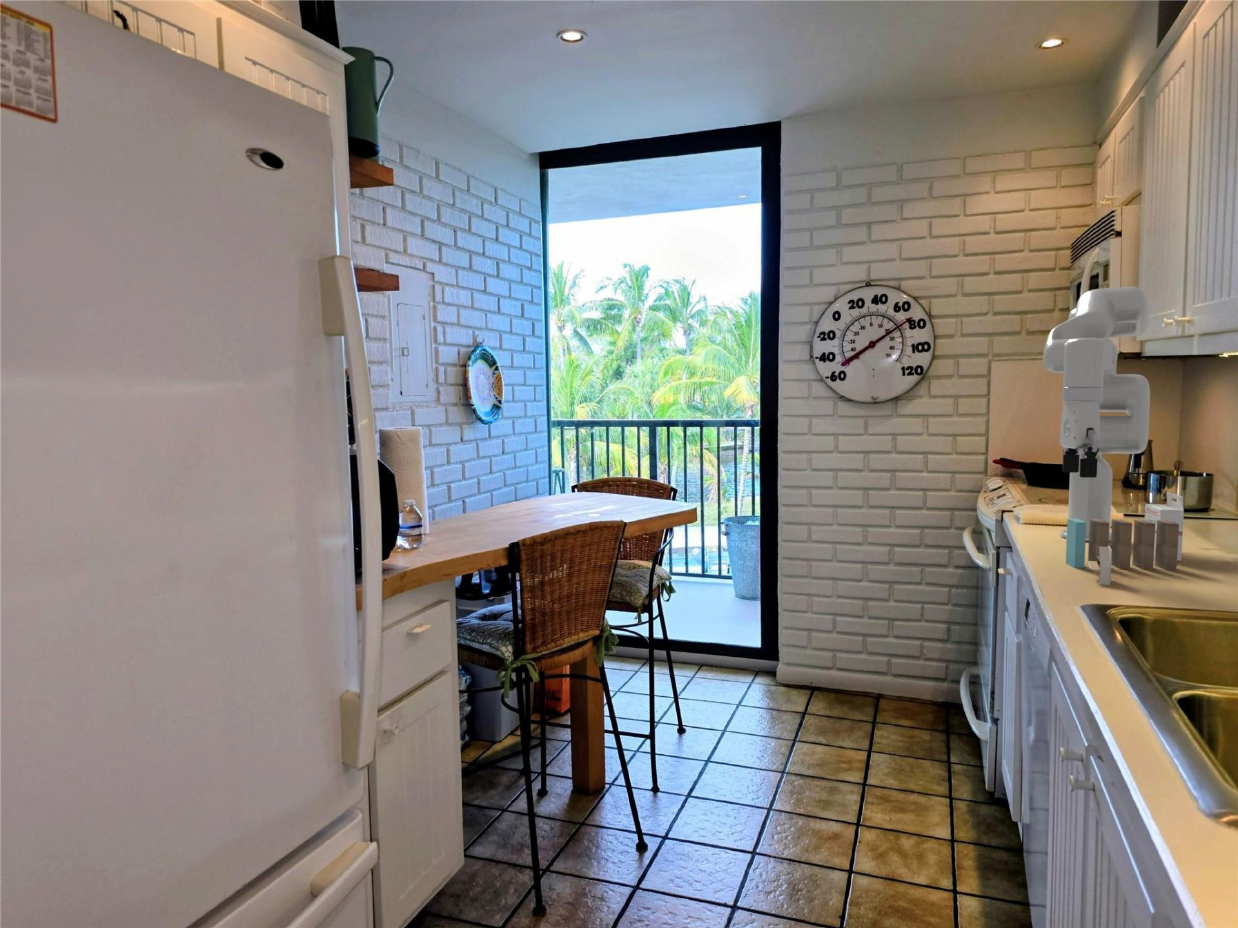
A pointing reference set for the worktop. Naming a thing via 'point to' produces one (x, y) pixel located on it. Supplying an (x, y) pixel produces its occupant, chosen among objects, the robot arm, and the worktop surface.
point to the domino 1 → (1076, 543)
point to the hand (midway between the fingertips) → (1079, 474)
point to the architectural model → (1103, 565)
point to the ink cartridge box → (1167, 516)
